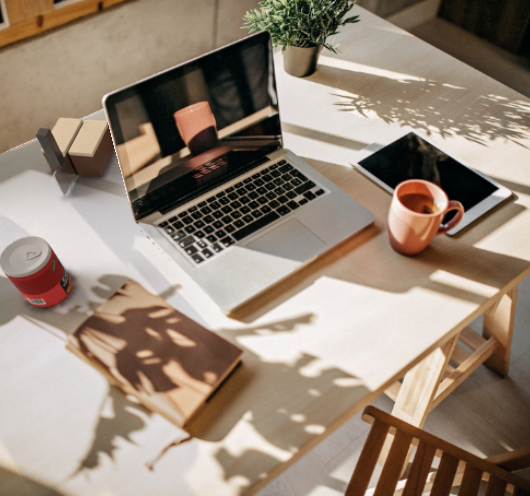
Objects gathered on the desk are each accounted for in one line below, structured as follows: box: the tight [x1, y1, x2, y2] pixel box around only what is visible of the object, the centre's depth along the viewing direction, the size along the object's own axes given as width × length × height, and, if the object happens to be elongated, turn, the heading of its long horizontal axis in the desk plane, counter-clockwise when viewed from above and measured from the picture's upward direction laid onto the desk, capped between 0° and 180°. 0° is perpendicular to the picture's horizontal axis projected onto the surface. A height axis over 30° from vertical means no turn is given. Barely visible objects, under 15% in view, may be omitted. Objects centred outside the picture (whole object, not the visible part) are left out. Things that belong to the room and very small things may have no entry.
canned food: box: [0, 235, 73, 309], centre depth 83 cm, size 8×8×11 cm
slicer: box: [35, 127, 77, 197], centre depth 95 cm, size 6×2×14 cm, turn 172°
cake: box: [40, 117, 115, 178], centre depth 104 cm, size 10×11×7 cm
